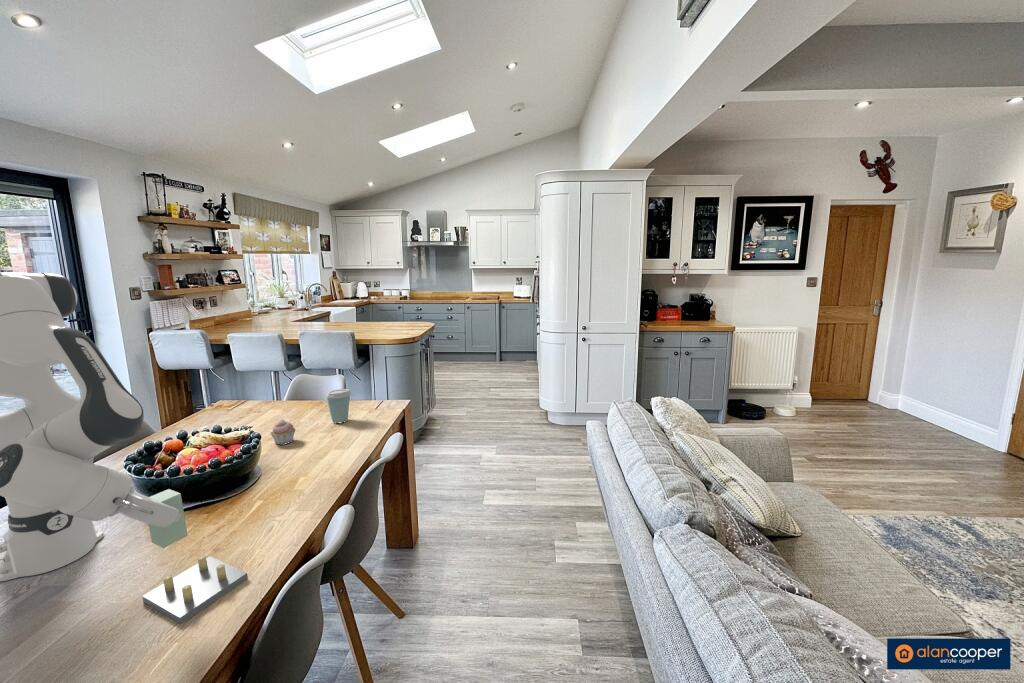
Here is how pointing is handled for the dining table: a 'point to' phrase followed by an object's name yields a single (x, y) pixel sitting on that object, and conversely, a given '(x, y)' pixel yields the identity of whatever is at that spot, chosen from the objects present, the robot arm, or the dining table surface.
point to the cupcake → (283, 432)
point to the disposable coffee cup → (338, 404)
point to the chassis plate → (194, 588)
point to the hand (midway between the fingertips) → (169, 514)
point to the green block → (176, 529)
